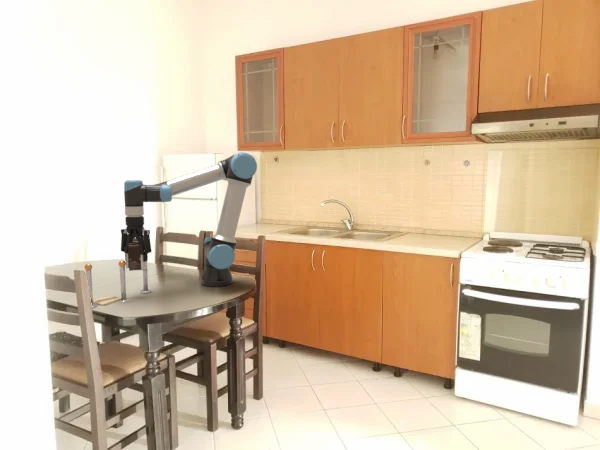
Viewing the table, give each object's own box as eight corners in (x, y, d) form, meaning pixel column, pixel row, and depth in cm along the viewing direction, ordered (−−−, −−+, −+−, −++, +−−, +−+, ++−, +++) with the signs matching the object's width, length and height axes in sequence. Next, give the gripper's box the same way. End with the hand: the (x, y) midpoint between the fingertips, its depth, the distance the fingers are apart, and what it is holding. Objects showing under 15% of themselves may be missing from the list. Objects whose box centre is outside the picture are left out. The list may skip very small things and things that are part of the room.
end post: (100, 305, 179) (97, 263, 177) (90, 309, 174) (87, 265, 172) (90, 304, 181) (88, 262, 179) (80, 307, 176) (78, 264, 174)
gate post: (153, 291, 201) (152, 253, 199) (146, 293, 196) (145, 255, 194) (145, 290, 203) (143, 252, 201) (137, 292, 198) (136, 254, 196)
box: (129, 271, 188) (127, 243, 187) (130, 269, 192) (128, 242, 191) (143, 270, 189) (142, 242, 188) (145, 268, 194) (143, 241, 193)
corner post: (132, 300, 188) (130, 259, 186) (124, 303, 184) (122, 262, 182) (123, 299, 190) (121, 259, 188) (114, 302, 185) (112, 261, 183)
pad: (122, 299, 188) (122, 297, 188) (104, 305, 179) (104, 304, 179) (106, 297, 191) (106, 295, 191) (88, 303, 182) (87, 302, 182)
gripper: (159, 216, 189) (161, 268, 191) (122, 214, 195) (124, 265, 198) (147, 217, 182) (149, 271, 184) (109, 216, 188) (112, 268, 191)
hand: (136, 268), depth 191 cm, fingers closed on box, 7 cm apart
